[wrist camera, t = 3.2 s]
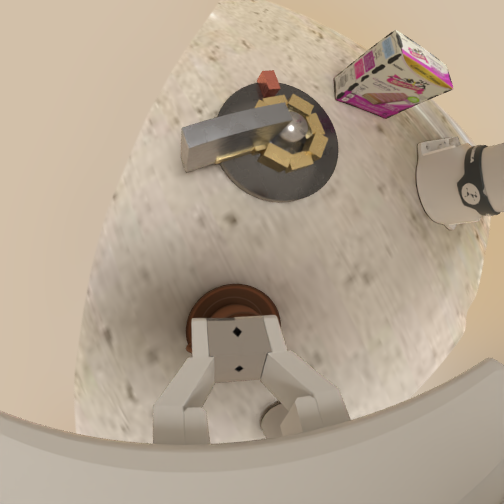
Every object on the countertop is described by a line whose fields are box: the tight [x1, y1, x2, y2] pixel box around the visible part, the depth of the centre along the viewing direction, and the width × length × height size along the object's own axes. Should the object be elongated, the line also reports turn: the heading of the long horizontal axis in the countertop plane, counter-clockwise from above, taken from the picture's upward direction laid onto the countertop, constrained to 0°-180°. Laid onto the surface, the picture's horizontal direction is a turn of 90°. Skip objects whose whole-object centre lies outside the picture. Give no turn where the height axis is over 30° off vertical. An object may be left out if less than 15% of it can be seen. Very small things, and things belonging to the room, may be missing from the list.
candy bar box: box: [334, 30, 453, 118], centre depth 30 cm, size 11×5×16 cm, turn 86°
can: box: [261, 404, 289, 439], centre depth 31 cm, size 8×8×12 cm
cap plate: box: [218, 70, 338, 202], centre depth 32 cm, size 17×17×6 cm
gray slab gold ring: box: [181, 94, 328, 173], centre depth 27 cm, size 18×10×9 cm, turn 111°
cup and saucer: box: [186, 284, 281, 353], centre depth 32 cm, size 12×12×6 cm
